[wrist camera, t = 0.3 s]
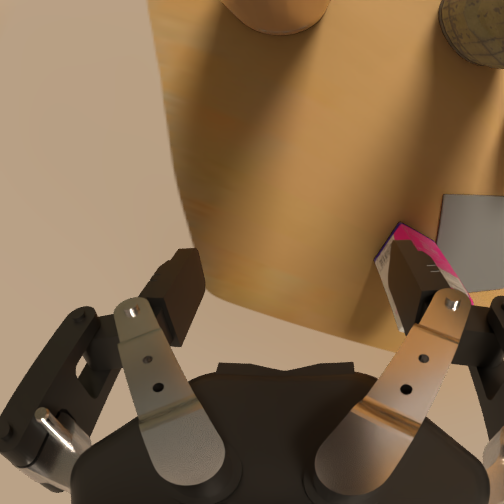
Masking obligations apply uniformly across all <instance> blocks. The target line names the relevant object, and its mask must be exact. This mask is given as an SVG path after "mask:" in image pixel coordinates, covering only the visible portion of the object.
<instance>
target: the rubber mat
mask: <svg viewBox="0 0 504 504" xmlns="http://www.w3.org/2000/svg"><path fill="white" fill-rule="evenodd" d="M436 245H437V246H438V248H439V249H440V251H441V252H442V253H443V255H444V256H445V258H446V259H447V261H448V262H449V264H450V266H451V267H452V269H453V270H454V272H455V273H456V275H457V276H458V278H459V279H460V281H461V283H462V284H463V286H464V287H465V289H466V291H467V292H477V291H486V290H495V289H503V288H504V196H490V195H461V194H443V202H442V210H441V217H440V223H439V229H438V235H437V241H436Z"/></svg>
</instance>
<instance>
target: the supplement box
mask: <svg viewBox="0 0 504 504" xmlns="http://www.w3.org/2000/svg"><path fill="white" fill-rule="evenodd" d="M393 240H411V241H412V243H413V244H414V246H415V247H416V249H417V250H418V251H423V252H425V253H426V254H427V255H429V256H430V257H431V258H432V259H433V261H434V262H435V264H436V266H437V267H438V268H439V270H440V272H441V273H442V275H443V276H444V278H445V279H446V281H447V282H448V284H449V286H450V287H451V288H452V289H456V290H459V291H461V292H463V293H464V294H466V295H467V296H468V297H469V299H470V301H471V305H473V304H474V303H473V301H472V299H471V297H470V296H469V294H468V292H467V291H466V289H465V287H464V286H463V284H462V283H461V281H460V279H459V278H458V276H457V275H456V273H455V272H454V270H453V269H452V267H451V266H450V264H449V262H448V261H447V259H446V258H445V256H444V255H443V253H442V252H441V251H440V249H439V248H438V246H437V245H436V243H435V242H434V241H433V240H431V239H429V238H428V237H426V236H424V235H423V234H421V233H419V232H418V231H416V230H414V229H412V228H411V227H409V226H407V225H405V224H403V223H401V222H399V223H398V224H397V226H396V228H395V229H394V230H393V232H392V234H391V235H390V236H389V238H388V240H387V241H386V243H385V244H384V246H383V247H382V249H381V250H380V251H379V253H378V254H377V256H376V257H375V259H374V262H375V264H376V267H377V270H378V272H379V275H380V278H381V280H382V283H383V286H384V289H385V291H386V294H387V297H388V300H389V303H390V306H391V308H392V311H393V314H394V317H395V321H396V324H397V327H398V330H399V331H400V332H404V329H403V326H402V323H401V320H400V317H399V314H398V311H397V309H396V306H395V303H394V300H393V298H392V295H391V292H390V290H389V286H388V269H389V261H390V251H391V243H392V241H393ZM404 333H405V332H404Z"/></svg>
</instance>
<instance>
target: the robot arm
mask: <svg viewBox="0 0 504 504" xmlns="http://www.w3.org/2000/svg"><path fill="white" fill-rule="evenodd" d="M220 1H221V2H222V3H223V4H224V5H225V6H226V7H227V8H228V9H229V10H230V11H231V12H232V13H233V14H234V15H235V16H236V17H237V18H238V19H239V20H241V21H242V22H243V23H244V24H245V25H247V26H248V27H250V28H252V29H253V30H256V31H259V32H262V33H265V34H271V35H289V34H295V33H298V32H301V31H304V30H306V29H308V28H309V27H311V26H313V25H314V24H315V23H316V22H317V21H319V20H320V19H321V17H322V16H323V14H324V13H325V11H326V9H327V7H328V5H329V3H330V1H331V0H220ZM388 286H389V290H390V292H391V295H392V298H393V300H394V303H395V306H396V309H397V311H398V314H399V317H400V320H401V323H402V326H403V329H404V332H405V335H406V338H405V340H404V341H403V343H402V344H401V346H400V348H399V349H398V351H397V352H396V354H395V356H394V357H393V358H392V360H391V361H390V363H389V364H388V366H387V367H386V369H385V370H384V372H383V373H382V374H381V376H380V377H379V379H377V378H375V377H373V376H370V375H367V374H363V373H359V372H354V364H353V362H345V363H323V364H322V363H320V364H316V365H312V366H307V367H302V368H298V369H293V370H288V371H282V370H277V369H271V368H267V367H263V366H258V365H253V364H240V363H219V364H218V367H217V371H216V372H214V373H209V374H205V375H202V376H199V377H197V378H194V379H192V380H190V381H187V379H186V377H185V376H184V373H183V371H182V370H181V368H180V366H179V364H178V362H177V360H176V358H175V356H174V354H173V352H172V350H171V347H170V346H174V347H181V346H182V344H183V341H184V339H185V337H186V335H187V332H188V330H189V327H190V325H191V323H192V321H193V318H194V316H195V314H196V311H197V309H198V307H199V305H200V302H201V300H202V298H203V295H204V293H205V278H204V274H203V270H202V265H201V261H200V256H199V252H198V250H197V249H196V248H187V249H178V251H177V252H176V253H175V255H174V256H173V258H172V259H171V260H168V261H167V262H165V263H164V264H162V265H161V266H160V267H159V268H158V269H157V271H156V272H155V273H154V275H153V276H152V278H151V279H150V281H149V282H148V283H147V285H146V287H145V288H144V289H143V291H142V292H141V293H140V295H139V296H138V297H135V298H130V299H127V300H125V301H123V302H122V303H120V304H119V305H118V306H117V307H116V308H115V310H114V314H111V315H106V316H100V317H98V316H97V314H96V312H95V310H94V308H92V307H89V306H85V307H80V308H78V309H76V310H74V311H72V312H71V313H70V314H69V315H68V316H67V317H66V318H65V320H64V321H63V322H62V324H61V325H60V326H59V328H58V329H57V330H56V332H55V333H54V335H53V336H52V337H51V339H50V340H49V341H48V343H47V344H46V346H45V347H44V349H43V350H42V351H41V353H40V354H39V356H38V357H37V359H36V360H35V362H34V363H33V365H32V366H31V368H30V369H29V371H28V372H27V374H26V375H25V377H24V378H23V380H22V381H21V383H20V384H19V386H18V387H17V389H16V391H15V392H14V394H13V395H12V397H11V399H10V400H9V402H8V404H7V405H6V407H5V409H4V410H3V412H2V414H1V416H0V453H1V454H2V455H3V456H4V457H5V458H7V459H8V460H9V461H10V462H11V463H12V464H13V465H14V466H15V467H16V468H18V469H19V470H20V471H21V472H23V473H24V474H25V475H27V476H28V477H30V478H31V479H32V480H34V481H35V482H38V483H40V484H41V485H43V486H44V487H46V488H47V489H49V490H50V491H52V492H56V493H59V492H63V491H66V492H69V493H71V504H504V360H503V358H504V296H497V297H495V298H494V299H493V300H492V302H491V305H490V308H488V307H481V306H474V305H471V301H470V299H469V297H468V296H467V295H466V294H464V293H463V292H461V291H459V290H456V289H452V288H451V287H450V286H449V284H448V282H447V281H446V279H445V278H444V276H443V275H442V273H441V272H440V270H439V268H438V267H437V266H436V264H435V262H434V261H433V259H432V258H431V257H430V256H429V255H427V254H426V253H425V252H423V251H418V250H417V249H416V247H415V246H414V244H413V243H412V241H411V240H393V241H392V243H391V251H390V261H389V269H388ZM82 355H83V357H84V358H85V360H86V362H87V363H86V365H85V367H84V369H83V371H82V372H81V374H80V376H79V378H77V376H76V365H77V363H78V362H79V360H80V358H81V356H82ZM450 364H459V365H467V366H468V367H469V370H470V373H471V376H472V379H473V382H474V386H475V389H476V392H477V395H478V399H479V402H480V406H481V409H482V413H483V416H484V421H485V425H486V428H487V432H488V437H489V442H488V443H487V445H486V447H485V449H484V452H483V464H482V463H481V462H480V461H479V460H478V459H477V458H476V457H475V456H474V455H472V454H471V453H470V452H469V451H467V450H466V449H465V448H464V447H463V446H461V445H460V444H459V443H458V442H456V441H455V440H454V439H453V438H452V437H450V436H449V435H448V434H447V433H445V432H444V431H443V430H442V429H441V428H439V427H438V426H437V425H436V424H435V423H433V422H432V421H431V420H430V419H428V418H427V417H426V415H427V413H428V410H429V409H430V407H431V405H432V403H433V401H434V399H435V397H436V395H437V393H438V391H439V389H440V387H441V384H442V382H443V380H444V378H445V375H446V373H447V371H448V369H449V366H450ZM121 368H123V369H124V373H125V376H126V379H127V383H128V386H129V390H130V393H131V396H132V399H133V403H134V406H135V408H136V412H137V415H138V416H137V417H136V418H134V419H133V420H131V421H130V422H128V423H127V424H125V425H124V426H122V427H121V428H119V429H118V430H116V431H114V432H113V433H111V434H110V435H108V436H107V437H105V438H104V439H102V440H100V441H99V442H97V443H95V444H94V445H92V446H91V440H90V436H91V433H92V431H93V429H94V427H95V424H96V422H97V420H98V417H99V415H100V413H101V411H102V408H103V406H104V404H105V402H106V400H107V397H108V395H109V393H110V391H111V389H112V386H113V384H114V382H115V380H116V378H117V376H118V374H119V372H120V370H121Z"/></svg>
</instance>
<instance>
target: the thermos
mask: <svg viewBox="0 0 504 504" xmlns="http://www.w3.org/2000/svg"><path fill="white" fill-rule="evenodd" d="M439 22H440V25H441V28H442V32H443V34H444V36H445V37H446V39H447V41H448V43H449V44H450V46H451V47H452V48H453V49H454V50H455V51H456V52H457V54H458V55H460V56H461V57H462V58H464V59H465V60H466V61H468V62H470V63H473V64H476V65H480V66H488V67H491V68H500V69H504V0H442V1H441V4H440V7H439Z"/></svg>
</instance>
